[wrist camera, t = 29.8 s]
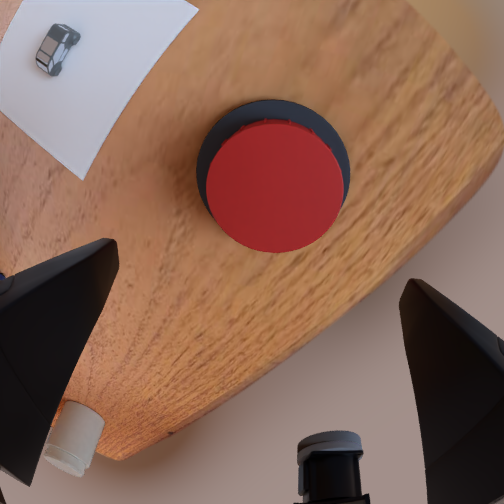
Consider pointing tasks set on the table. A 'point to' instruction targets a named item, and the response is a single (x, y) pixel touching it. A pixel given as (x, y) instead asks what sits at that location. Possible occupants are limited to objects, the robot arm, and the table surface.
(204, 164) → the coaster
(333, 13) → the table surface
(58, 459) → the jar
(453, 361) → the robot arm
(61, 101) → the white paper sheet
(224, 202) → the jar lid
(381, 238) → the table surface
